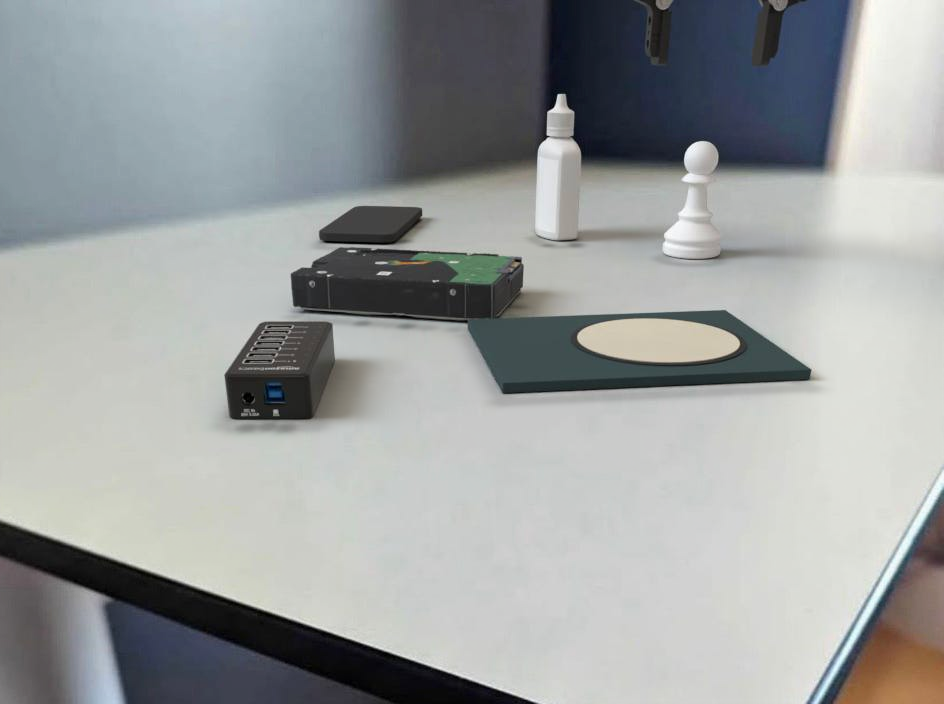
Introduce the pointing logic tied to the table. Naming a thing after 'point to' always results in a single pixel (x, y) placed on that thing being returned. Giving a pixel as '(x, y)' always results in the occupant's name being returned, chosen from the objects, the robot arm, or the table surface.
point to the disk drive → (409, 283)
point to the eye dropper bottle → (558, 177)
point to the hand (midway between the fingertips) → (709, 65)
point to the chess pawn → (695, 209)
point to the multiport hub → (281, 371)
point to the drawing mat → (628, 351)
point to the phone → (371, 224)
